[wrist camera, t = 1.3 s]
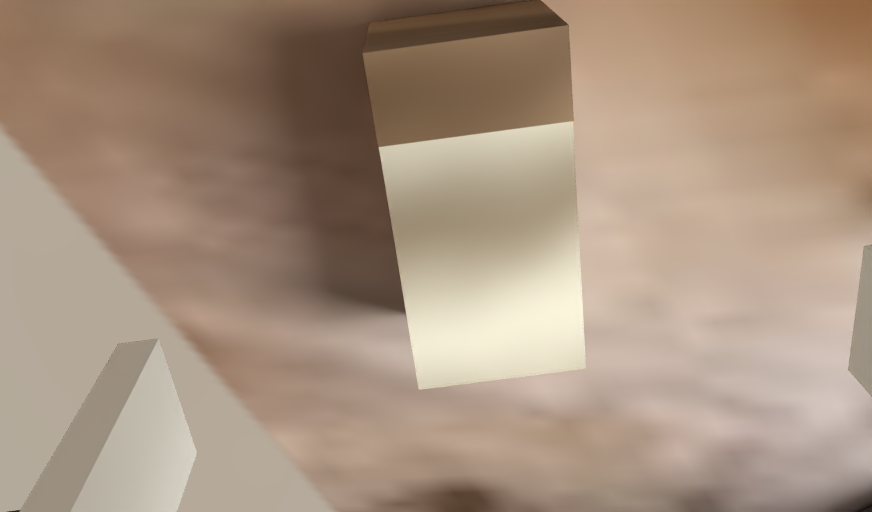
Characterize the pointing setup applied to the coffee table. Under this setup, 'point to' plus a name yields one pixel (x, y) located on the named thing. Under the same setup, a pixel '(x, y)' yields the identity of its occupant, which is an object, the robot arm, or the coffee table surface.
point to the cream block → (481, 188)
